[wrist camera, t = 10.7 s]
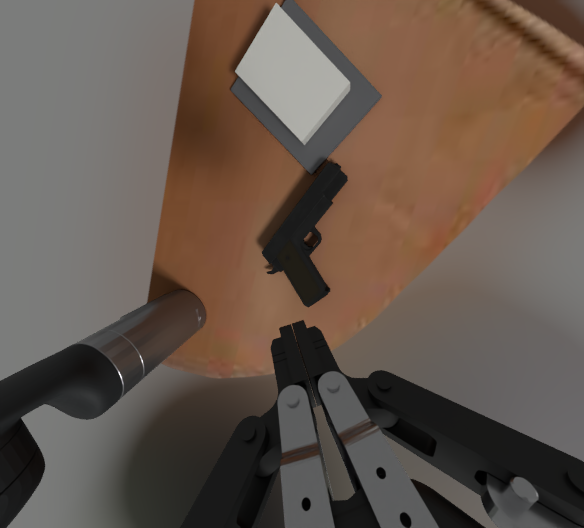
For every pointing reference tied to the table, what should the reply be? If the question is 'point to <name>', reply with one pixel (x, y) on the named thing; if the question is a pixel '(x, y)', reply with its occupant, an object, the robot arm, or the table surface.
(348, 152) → the table surface
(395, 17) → the table surface
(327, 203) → the handgun
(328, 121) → the mat
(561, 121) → the table surface
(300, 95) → the tile
